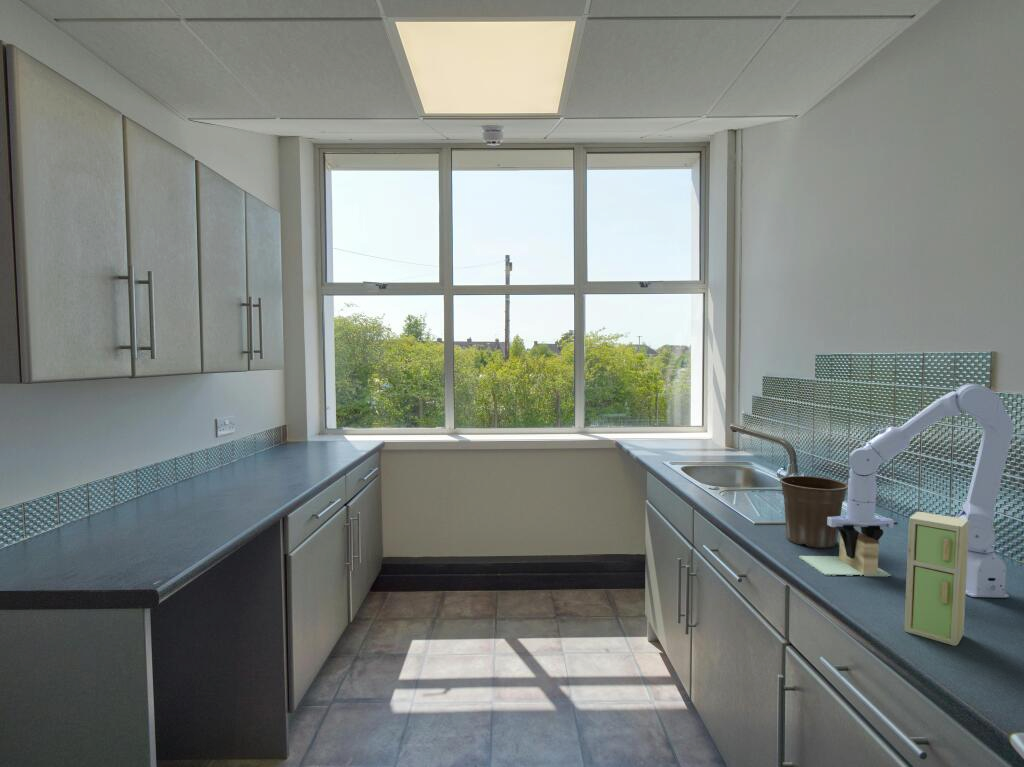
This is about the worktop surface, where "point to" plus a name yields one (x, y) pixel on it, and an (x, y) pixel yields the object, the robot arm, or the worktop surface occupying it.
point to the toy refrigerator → (936, 577)
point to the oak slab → (862, 554)
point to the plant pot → (812, 509)
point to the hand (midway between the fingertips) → (858, 557)
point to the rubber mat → (836, 566)
